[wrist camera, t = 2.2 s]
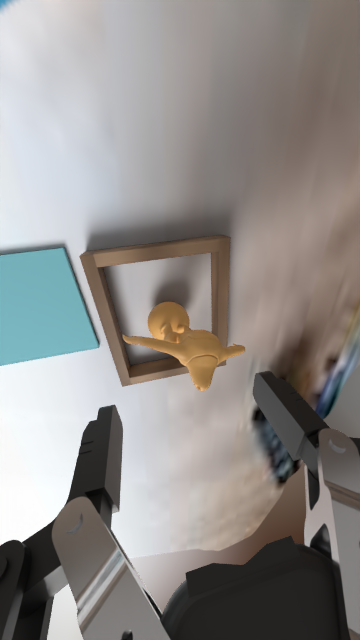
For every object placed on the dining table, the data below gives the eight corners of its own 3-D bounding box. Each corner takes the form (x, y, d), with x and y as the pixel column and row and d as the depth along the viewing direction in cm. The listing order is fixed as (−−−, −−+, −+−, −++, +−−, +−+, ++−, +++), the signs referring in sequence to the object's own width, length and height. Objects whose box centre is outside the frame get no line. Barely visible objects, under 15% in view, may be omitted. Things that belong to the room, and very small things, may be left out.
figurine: (123, 325, 21) (110, 440, 10) (129, 268, 18) (121, 344, 8) (197, 332, 23) (249, 433, 12) (213, 282, 20) (294, 357, 10)
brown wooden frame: (221, 234, 18) (230, 237, 16) (219, 354, 25) (225, 364, 23) (85, 251, 17) (79, 256, 15) (123, 373, 24) (122, 386, 22)
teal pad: (64, 247, 16) (62, 248, 16) (99, 345, 21) (98, 347, 21) (-75, 263, 15) (-80, 265, 15) (-4, 364, 20) (-6, 366, 20)
